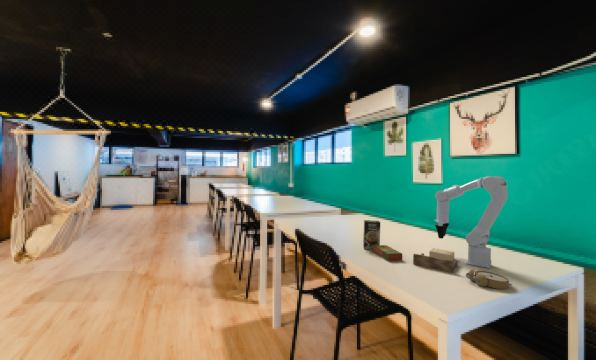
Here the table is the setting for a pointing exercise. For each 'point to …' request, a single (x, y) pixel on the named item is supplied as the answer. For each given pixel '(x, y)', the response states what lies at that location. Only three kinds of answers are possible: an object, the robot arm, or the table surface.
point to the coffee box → (371, 234)
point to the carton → (387, 253)
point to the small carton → (442, 254)
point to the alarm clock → (488, 279)
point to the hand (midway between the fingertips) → (441, 237)
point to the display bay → (434, 262)
